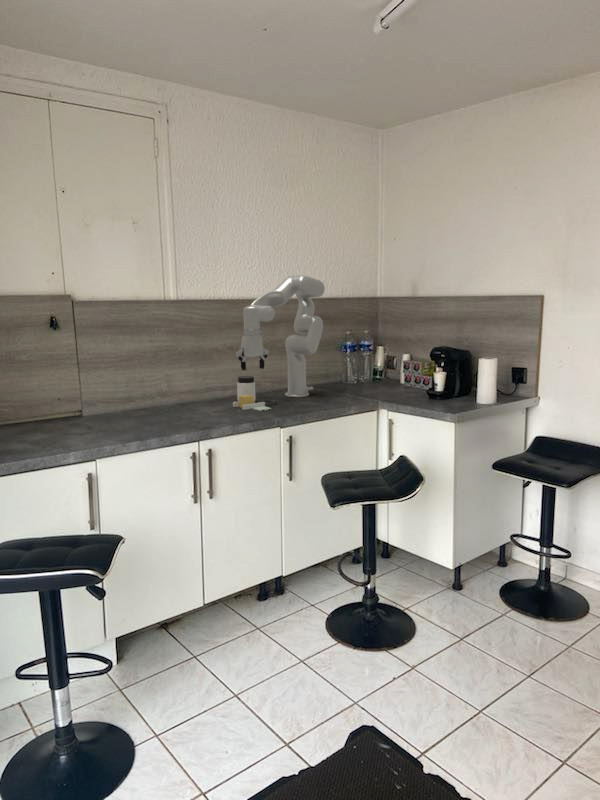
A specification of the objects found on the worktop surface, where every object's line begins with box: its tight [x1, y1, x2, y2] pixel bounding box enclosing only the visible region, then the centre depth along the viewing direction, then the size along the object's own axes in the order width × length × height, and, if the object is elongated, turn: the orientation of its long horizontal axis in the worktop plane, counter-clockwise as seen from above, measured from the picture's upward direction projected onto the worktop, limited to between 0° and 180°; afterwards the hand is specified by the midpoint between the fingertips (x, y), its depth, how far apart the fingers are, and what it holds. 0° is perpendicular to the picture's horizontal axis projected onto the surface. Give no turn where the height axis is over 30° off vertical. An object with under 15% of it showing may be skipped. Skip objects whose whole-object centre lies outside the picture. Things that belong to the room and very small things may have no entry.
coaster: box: [251, 406, 272, 412], centre depth 267 cm, size 6×6×1 cm
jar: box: [236, 375, 256, 402], centre depth 287 cm, size 9×8×12 cm
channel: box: [232, 398, 266, 411], centre depth 273 cm, size 12×10×2 cm
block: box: [238, 395, 253, 409], centre depth 272 cm, size 5×5×6 cm
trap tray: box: [255, 399, 277, 407], centre depth 279 cm, size 7×8×1 cm
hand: (252, 369), depth 272 cm, fingers open, 9 cm apart
